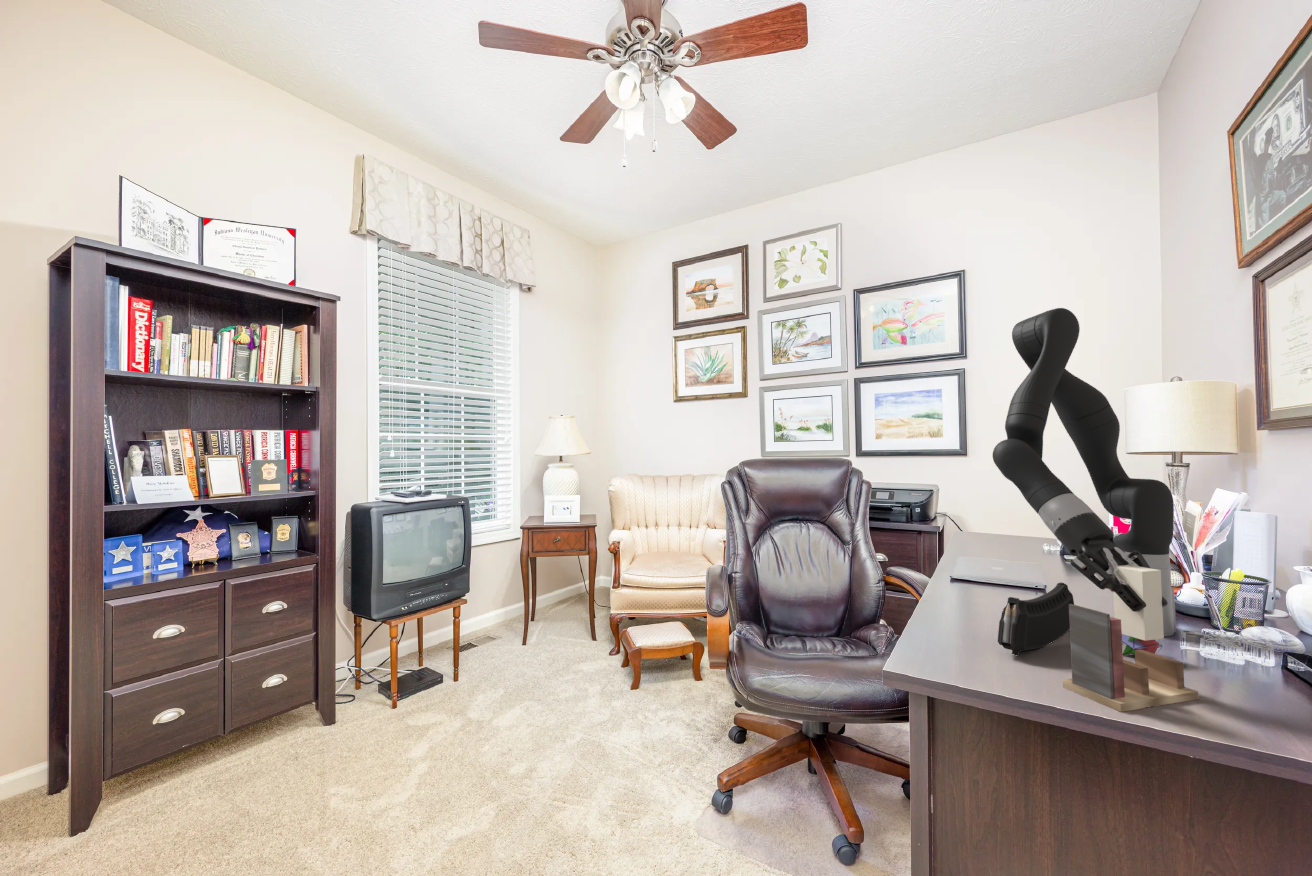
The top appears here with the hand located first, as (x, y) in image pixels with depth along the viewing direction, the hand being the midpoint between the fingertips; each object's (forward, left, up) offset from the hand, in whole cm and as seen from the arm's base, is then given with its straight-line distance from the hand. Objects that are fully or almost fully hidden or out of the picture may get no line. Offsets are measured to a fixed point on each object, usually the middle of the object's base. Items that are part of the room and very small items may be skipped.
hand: (1151, 607), depth 85 cm
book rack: (+3, -2, -14) cm, 15 cm away
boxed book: (0, -2, -5) cm, 5 cm away
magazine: (-5, -24, -15) cm, 29 cm away
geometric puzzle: (-15, -13, -14) cm, 25 cm away
